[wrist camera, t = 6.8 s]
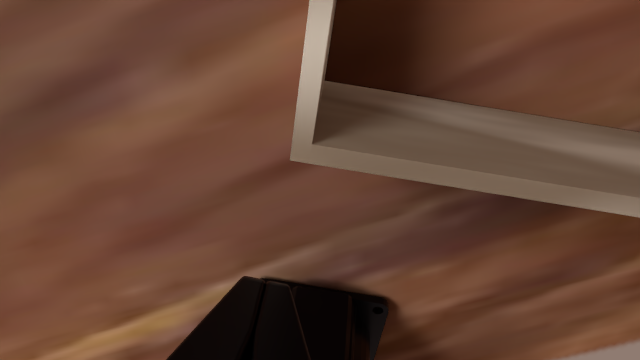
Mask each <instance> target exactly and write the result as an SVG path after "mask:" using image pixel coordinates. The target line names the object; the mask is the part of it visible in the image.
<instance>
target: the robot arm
mask: <svg viewBox="0 0 640 360" xmlns="http://www.w3.org/2000/svg"><path fill="white" fill-rule="evenodd" d="M376 307H380V308H376ZM387 315H388V302H387V300H385V299H384V298H381V297H376V296H370V295H364V294H357V293H351V292H345V291H339V290H333V289H327V288H321V287H314V286H308V285H302V284H296V283H290V282H284V281H277V280H271V279H264V278H261V279H258V278H253V277H248V276H244V277H242V278H241V279H240V280H239V281H238V282H237V283H236V284H235V285H234V286H233V288H232V289H231V290H230V291H229V292H228V293H227V294H226V295H225V296H224V297H223V298H222V299H221V301H220V302H219V303H218V304H217V305H216V306H215V307H214V308H213V309H212V310H211V311H210V312H209V314H208V315H207V316H206V317H205V318H204V319H203V320H202V321H201V322H200V323H199V324H198V326H197V327H196V328H195V329H194V330H193V331H192V332H191V333H190V334H189V335H188V336H187V337H186V339H185V340H184V341H183V342H182V343H181V344H180V345H179V346H178V347H177V348H176V349H175V351H174V352H173V353H172V354H171V355H170V356H169V357H168V358H167V359H166V360H374V357H375V354H376V351H377V347H378V344H379V341H380V338H381V334H382V331H383V328H384V325H385V321H386V318H387Z"/></svg>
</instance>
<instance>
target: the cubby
mask: <svg viewBox="0 0 640 360" xmlns="http://www.w3.org/2000/svg"><path fill="white" fill-rule="evenodd" d="M336 2H337V0H310V2H309V10H308V18H307V27H306V35H305V43H304V51H303V59H302V67H301V75H300V83H299V91H298V99H297V107H296V115H295V123H294V131H293V139H292V147H291V155H290V160H291V161H297V162H303V163H309V164H315V165H321V166H327V167H334V168H340V169H346V170H352V171H358V172H364V173H370V174H376V175H382V176H389V177H395V178H401V179H407V180H413V181H419V182H425V183H431V184H438V185H444V186H450V187H456V188H462V189H468V190H474V191H480V192H486V193H493V194H499V195H505V196H511V197H517V198H523V199H529V200H535V201H542V202H548V203H554V204H560V205H566V206H572V207H578V208H584V209H591V210H597V211H603V212H609V213H615V214H621V215H627V216H633V217H639V218H640V132H635V131H628V130H622V129H616V128H610V127H604V126H598V125H592V124H586V123H580V122H574V121H568V120H561V119H555V118H549V117H543V116H537V115H531V114H525V113H519V112H513V111H507V110H501V109H494V108H488V107H482V106H476V105H470V104H464V103H458V102H452V101H446V100H440V99H434V98H427V97H421V96H415V95H409V94H403V93H397V92H391V91H385V90H379V89H373V88H367V87H360V86H354V85H348V84H342V83H336V82H330V81H324V80H325V74H326V67H327V60H328V54H329V47H330V41H331V34H332V28H333V21H334V15H335V8H336Z"/></svg>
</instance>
